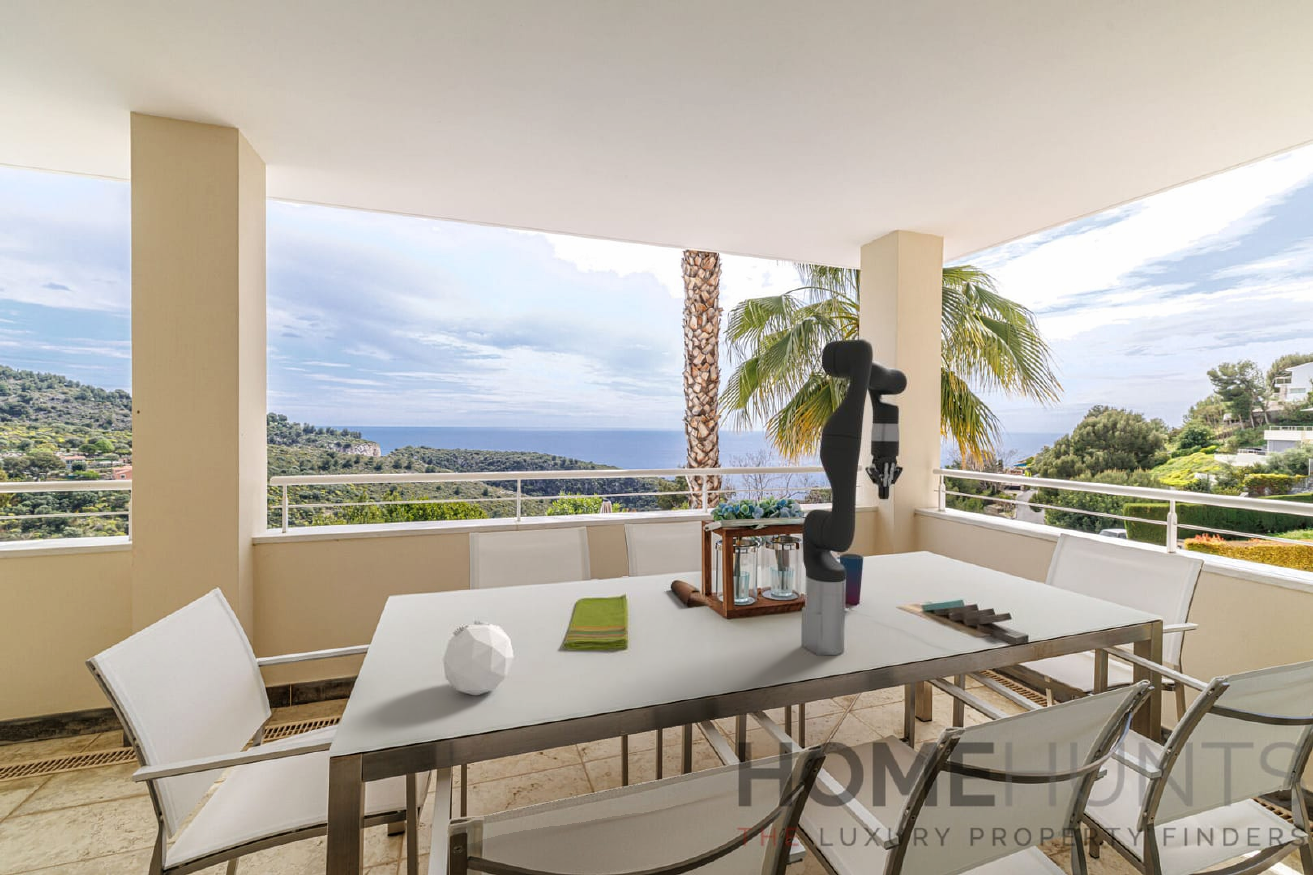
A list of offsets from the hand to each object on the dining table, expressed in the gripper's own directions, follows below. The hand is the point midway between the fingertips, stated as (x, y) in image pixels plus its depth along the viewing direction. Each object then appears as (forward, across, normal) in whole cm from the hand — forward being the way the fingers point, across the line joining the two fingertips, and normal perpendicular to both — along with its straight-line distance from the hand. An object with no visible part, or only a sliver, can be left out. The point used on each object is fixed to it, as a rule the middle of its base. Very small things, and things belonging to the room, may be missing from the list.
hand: (883, 499), depth 160 cm
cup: (+33, -4, +8) cm, 34 cm away
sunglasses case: (+34, -45, +33) cm, 65 cm away
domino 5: (+31, +12, -23) cm, 40 cm away
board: (+33, +12, -13) cm, 38 cm away
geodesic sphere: (+33, -113, -3) cm, 118 cm away
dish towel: (+34, -78, +23) cm, 89 cm away
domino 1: (+31, +12, -6) cm, 34 cm away
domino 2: (+31, +12, -10) cm, 35 cm away
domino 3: (+31, +12, -15) cm, 37 cm away
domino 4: (+31, +12, -19) cm, 38 cm away
